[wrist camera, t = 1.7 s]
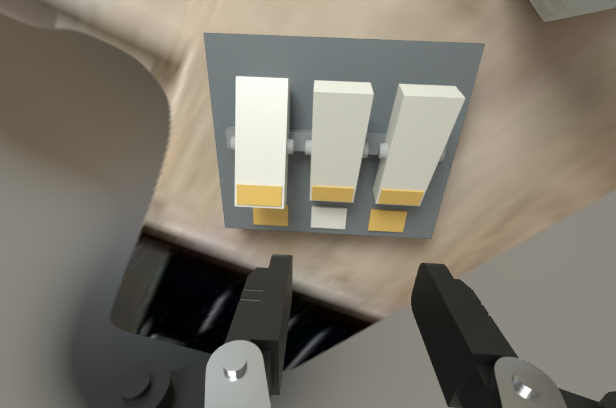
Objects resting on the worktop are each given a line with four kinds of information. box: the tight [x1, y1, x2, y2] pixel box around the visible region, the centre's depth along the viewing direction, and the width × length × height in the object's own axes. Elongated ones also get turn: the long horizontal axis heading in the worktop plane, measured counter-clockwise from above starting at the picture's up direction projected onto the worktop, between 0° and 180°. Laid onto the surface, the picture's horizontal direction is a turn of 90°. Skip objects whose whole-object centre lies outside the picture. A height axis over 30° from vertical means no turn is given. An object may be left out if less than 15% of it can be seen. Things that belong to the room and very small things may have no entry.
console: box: [204, 33, 485, 239], centre depth 27 cm, size 18×22×5 cm
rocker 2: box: [373, 84, 465, 206], centre depth 23 cm, size 10×5×2 cm, turn 178°
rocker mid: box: [305, 80, 374, 203], centre depth 23 cm, size 10×5×2 cm, turn 177°
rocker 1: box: [230, 76, 294, 209], centre depth 23 cm, size 10×5×2 cm, turn 178°
